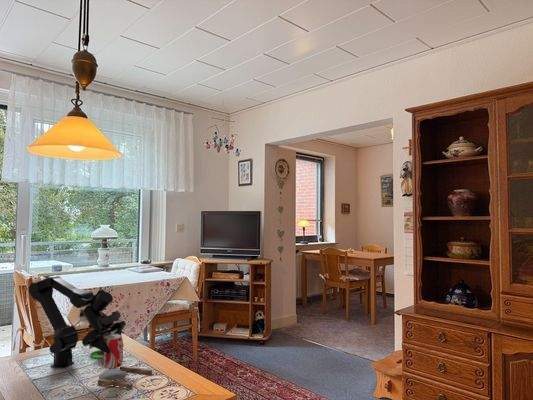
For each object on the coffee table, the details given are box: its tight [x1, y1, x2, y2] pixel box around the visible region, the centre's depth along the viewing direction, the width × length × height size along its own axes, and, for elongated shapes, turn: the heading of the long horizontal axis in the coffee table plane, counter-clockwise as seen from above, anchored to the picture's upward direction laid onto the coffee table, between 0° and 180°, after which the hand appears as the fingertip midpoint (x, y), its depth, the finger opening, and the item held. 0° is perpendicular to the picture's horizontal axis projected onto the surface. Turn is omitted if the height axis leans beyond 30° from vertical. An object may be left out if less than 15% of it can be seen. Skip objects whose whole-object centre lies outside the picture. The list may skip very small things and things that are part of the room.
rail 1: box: [97, 378, 134, 389], centre depth 140 cm, size 14×1×2 cm, turn 76°
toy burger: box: [88, 324, 114, 360], centre depth 172 cm, size 12×13×15 cm
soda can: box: [103, 333, 124, 370], centre depth 149 cm, size 7×7×12 cm
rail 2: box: [119, 365, 153, 375], centre depth 153 cm, size 14×1×2 cm, turn 76°
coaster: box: [98, 368, 127, 381], centre depth 149 cm, size 10×10×1 cm
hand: (116, 350), depth 149 cm, fingers closed on soda can, 7 cm apart
